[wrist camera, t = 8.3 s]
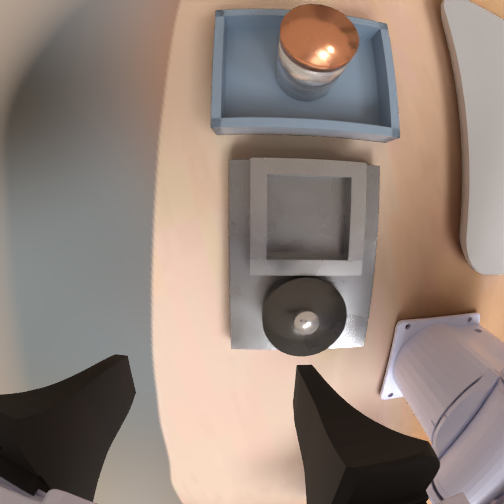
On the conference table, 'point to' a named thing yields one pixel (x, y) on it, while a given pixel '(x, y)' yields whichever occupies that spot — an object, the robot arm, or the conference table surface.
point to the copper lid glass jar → (313, 51)
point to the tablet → (479, 129)
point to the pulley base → (301, 253)
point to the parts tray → (286, 108)
